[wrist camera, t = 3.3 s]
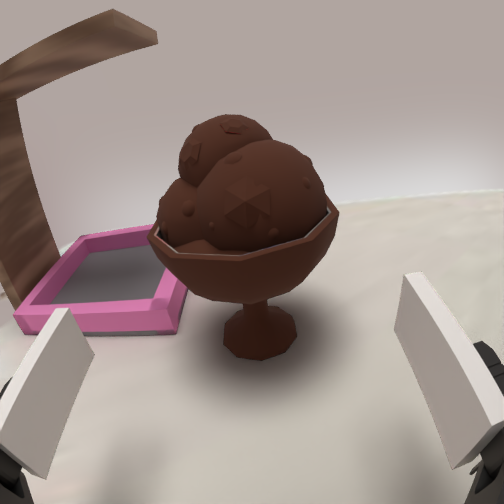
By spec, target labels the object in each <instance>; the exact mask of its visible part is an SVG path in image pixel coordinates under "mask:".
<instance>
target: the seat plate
mask: <svg viewBox="0 0 504 504" xmlns="http://www.w3.org/2000/svg"><path fill="white" fill-rule="evenodd" d="M153 225H154V224H151V225H145V226H138V227H132V228H125V229H119V230H113V231H107V232H100V233H95V234H89V235H83V236H80V237H79V238H78V239H77V240H76V241H75V243H74V244H73V245H72V246H71V247H70V248H69V249H68V250H67V251H66V252H65V253H64V254H63V255H62V257H61V258H60V259H59V260H58V261H57V262H56V263H55V264H54V265H53V267H52V268H51V269H50V270H49V271H48V272H47V273H46V275H45V276H44V277H43V278H42V279H41V280H40V282H39V283H38V284H37V285H36V286H35V288H34V289H33V290H32V291H31V292H30V294H29V295H28V296H27V297H26V298H25V300H24V301H23V302H22V303H21V305H20V306H19V307H18V309H17V310H16V311H15V312H14V314H13V316H14V318H15V320H16V321H17V323H18V325H19V326H20V328H21V330H22V331H23V333H24V334H29V335H38V334H39V333H40V331H41V330H42V328H43V327H44V325H45V324H46V322H47V321H48V319H49V318H50V316H51V315H52V313H53V312H54V310H55V309H56V308H69V309H70V311H71V313H72V315H73V316H74V318H75V320H76V322H77V324H78V326H79V328H80V330H81V331H82V333H83V335H84V336H137V335H166V334H176V332H177V328H178V324H179V320H180V317H181V313H182V309H183V306H184V302H185V298H186V295H187V291H188V288H187V287H186V286H185V285H184V284H183V283H182V282H181V281H179V280H178V279H177V278H176V277H175V276H174V275H173V274H172V273H171V272H170V271H169V270H168V269H167V268H166V267H165V266H164V265H163V264H162V262H161V261H160V260H159V259H158V258H157V256H156V254H155V253H154V251H153V249H152V247H151V245H150V243H149V241H148V239H147V238H146V237H147V235H148V233H149V232H150V230H151V228H152V227H153Z"/></svg>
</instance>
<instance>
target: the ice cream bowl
mask: <svg viewBox="0 0 504 504" xmlns="http://www.w3.org/2000/svg"><path fill="white" fill-rule="evenodd" d="M178 170H179V174H180V177H181V178H179V179H177V180H175V181H174V182H173V183H172V185H171V186H170V187H169V189H168V191H167V192H166V193H165V195H164V196H163V197H162V198H161V199H160V200H159V208H158V212H157V216H156V217H157V220H156V222H155V223H154V225H153V227H152V228H151V230H150V232H149V233H148V235H147V237H146V238H147V239H148V241H149V243H150V245H151V247H152V249H153V251H154V253H155V254H156V256H157V258H158V259H159V260H160V261H161V262H162V264H163V265H164V266H165V267H166V268H167V269H168V270H169V271H170V272H171V273H172V274H173V275H174V276H175V277H176V278H177V279H178V280H179V281H181V282H182V283H183V284H184V285H185V286H186V287H187V288H188V289H189V290H190V291H192V292H193V293H194V294H195V295H198V296H201V297H204V298H206V299H209V300H212V301H220V302H231V303H242V304H243V310H240V311H237V312H236V313H235V314H234V315H233V316H232V317H231V318H230V319H229V320H228V321H227V322H226V323H225V327H224V342H223V345H224V346H225V347H227V348H228V349H229V350H230V351H231V352H232V353H233V354H234V355H235V356H236V357H238V358H245V359H252V360H260V361H262V360H265V359H268V358H270V357H273V356H276V355H279V354H281V353H284V352H286V350H287V349H288V348H289V346H290V345H291V344H292V342H293V341H294V340H295V339H296V337H297V333H296V328H295V322H294V319H293V317H292V316H291V315H290V314H288V313H287V312H285V311H283V310H282V309H280V308H279V307H277V306H268V304H267V299H269V298H272V297H275V296H278V295H281V294H284V293H287V292H290V291H291V290H292V289H294V288H295V287H296V286H298V285H299V284H300V283H302V282H303V281H304V279H305V278H306V277H307V276H308V275H309V274H310V272H311V271H312V270H313V269H314V268H315V266H316V265H317V264H318V263H319V262H320V260H321V259H322V258H323V257H324V256H325V254H326V252H327V250H328V248H329V246H330V244H331V242H332V240H333V238H334V236H335V232H336V227H337V222H338V217H339V211H338V210H337V208H336V207H335V206H334V204H333V203H332V202H331V200H330V199H329V198H328V196H327V195H326V194H325V190H324V185H323V182H322V181H321V179H320V177H319V176H318V174H317V172H316V171H315V169H314V168H313V166H312V161H311V159H310V158H309V157H307V156H305V155H303V154H302V153H300V152H299V151H298V150H297V149H296V148H294V147H293V146H291V145H288V144H285V143H282V142H279V141H276V140H273V139H272V137H271V136H270V134H269V133H268V131H267V130H266V129H265V128H263V127H262V126H261V125H260V124H258V123H257V122H256V121H255V120H252V119H250V118H247V117H244V116H242V115H227V114H225V115H221V116H217V117H215V118H212V119H209V120H207V121H205V122H203V123H201V124H198V125H196V126H195V127H194V128H193V130H192V133H191V134H190V135H189V136H188V137H187V139H186V140H185V142H184V145H183V147H182V149H181V151H180V155H179V165H178Z"/></svg>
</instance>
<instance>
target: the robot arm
mask: <svg viewBox="0 0 504 504" xmlns="http://www.w3.org/2000/svg"><path fill="white" fill-rule="evenodd" d="M394 331H395V333H396V335H397V337H398V339H399V341H400V343H401V345H402V348H403V350H404V352H405V354H406V356H407V358H408V361H409V363H410V365H411V367H412V369H413V372H414V374H415V376H416V378H417V381H418V383H419V385H420V388H421V390H422V392H423V395H424V397H425V400H426V402H427V404H428V407H429V409H430V412H431V414H432V417H433V419H434V422H435V424H436V427H437V430H438V432H439V435H440V438H441V440H442V443H443V446H444V448H445V451H446V454H447V457H448V460H449V463H450V465H451V468H452V470H453V469H455V468H457V467H460V466H462V465H465V464H467V463H469V462H471V461H473V460H474V459H475V458H476V457H477V456H478V455H479V454H481V457H482V460H481V461H480V462H479V463H478V464H477V465H476V466H475V467H474V468H473V469H472V471H471V472H470V475H473V474H474V473H475V472H476V471H477V473H476V476H475V478H474V481H473V484H472V486H471V489H470V491H469V494H468V496H467V499H466V501H465V503H464V504H504V366H503V364H501V361H500V359H499V358H498V356H497V355H496V353H495V351H494V350H493V349H492V348H490V347H489V346H488V345H487V344H485V343H484V342H483V341H480V342H477V343H474V344H472V342H471V341H470V339H469V338H468V336H467V335H466V333H465V332H464V330H463V329H462V327H461V326H460V324H459V323H458V321H457V320H456V318H455V317H454V315H453V314H452V312H451V311H450V310H449V308H448V307H447V305H446V304H445V303H444V301H443V300H442V298H441V297H440V296H439V294H438V293H437V291H436V290H435V289H434V287H433V286H432V285H431V283H430V282H429V281H428V279H427V278H426V277H425V275H424V274H423V273H422V271H421V272H415V273H408V274H404V276H403V283H402V289H401V295H400V301H399V306H398V312H397V317H396V322H395V327H394ZM94 355H95V354H94V352H93V351H92V349H91V347H90V346H89V344H88V342H87V340H86V339H85V337H84V335H83V333H82V331H81V330H80V328H79V326H78V324H77V322H76V320H75V318H74V316H73V315H72V313H71V311H70V309H69V308H56V309H55V310H54V312H53V313H52V315H51V316H50V318H49V319H48V321H47V322H46V324H45V325H44V327H43V328H42V330H41V331H40V333H39V334H38V336H37V338H36V339H35V341H34V342H33V344H32V346H31V347H30V349H29V350H28V352H27V354H26V355H25V357H24V359H23V360H22V362H21V364H20V365H19V367H18V369H17V370H16V372H15V374H14V376H13V377H12V378H11V379H10V380H9V381H8V382H7V383H6V384H5V385H4V387H3V389H2V391H1V393H0V504H34V502H33V499H32V496H31V493H30V490H29V487H28V484H27V481H26V477H25V475H24V473H22V472H21V469H22V467H23V468H24V469H26V470H27V471H28V472H29V473H31V474H32V475H35V476H38V477H40V478H43V479H47V475H48V472H49V469H50V466H51V463H52V460H53V457H54V454H55V452H56V449H57V446H58V443H59V440H60V438H61V435H62V432H63V430H64V427H65V424H66V422H67V419H68V417H69V414H70V411H71V409H72V406H73V404H74V402H75V399H76V397H77V394H78V392H79V389H80V387H81V385H82V382H83V380H84V378H85V375H86V373H87V371H88V369H89V366H90V364H91V362H92V360H93V357H94Z"/></svg>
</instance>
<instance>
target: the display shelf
mask: <svg viewBox="0 0 504 504" xmlns="http://www.w3.org/2000/svg"><path fill="white" fill-rule="evenodd" d="M156 44H158V39H157V32H156V31H155V30H153V29H151V28H150V27H148V26H146V25H144V24H142V23H140V22H138V21H136V20H134V19H132V18H130V17H128V16H126V15H124V14H122V13H120V12H118V11H116V10H114V9H111V10H108V11H106V12H103V13H100V14H98V15H95V16H93V17H90V18H88V19H85V20H83V21H81V22H78V23H76V24H74V25H72V26H70V27H67V28H65V29H63V30H61V31H59V32H57V33H55V34H53V35H51V36H49V37H47V38H45V39H43V40H41V41H40V42H38V43H36V44H34V45H32V46H31V47H29V48H27V49H25V50H24V51H22V52H20V53H19V54H17V55H15V56H14V57H12V58H10V59H9V60H7V61H6V62H4V63H2V64H1V65H0V282H1V284H2V286H3V288H4V290H5V292H6V294H7V296H8V298H9V300H10V302H11V304H12V305H13V307H14V309H15V311H16V310H17V309H18V307H19V306H20V305H21V303H22V302H23V301H24V300H25V298H26V297H27V296H28V295H29V294H30V292H31V291H32V290H33V289H34V288H35V286H36V285H37V284H38V283H39V282H40V280H41V279H42V278H43V277H44V276H45V275H46V273H47V272H48V271H49V270H50V269H51V268H52V267H53V265H54V264H55V263H56V262H57V261H58V260H59V259H60V258H61V256H60V254H59V251H58V249H57V246H56V244H55V241H54V238H53V236H52V233H51V230H50V227H49V225H48V222H47V219H46V216H45V213H44V210H43V207H42V204H41V201H40V198H39V194H38V191H37V188H36V184H35V181H34V178H33V174H32V170H31V167H30V163H29V159H28V155H27V151H26V147H25V142H24V138H23V133H22V128H21V123H20V118H19V113H18V107H17V101H16V99H18V98H20V97H22V96H23V95H25V94H27V93H29V92H31V91H33V90H35V89H37V88H39V87H41V86H43V85H46V84H48V83H50V82H52V81H54V80H56V79H59V78H61V77H63V76H66V75H68V74H70V73H73V72H75V71H78V70H80V69H83V68H85V67H87V66H90V65H93V64H96V63H98V62H101V61H104V60H107V59H109V58H113V57H116V56H119V55H122V54H125V53H128V52H131V51H134V50H138V49H142V48H145V47H149V46H152V45H156Z"/></svg>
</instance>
